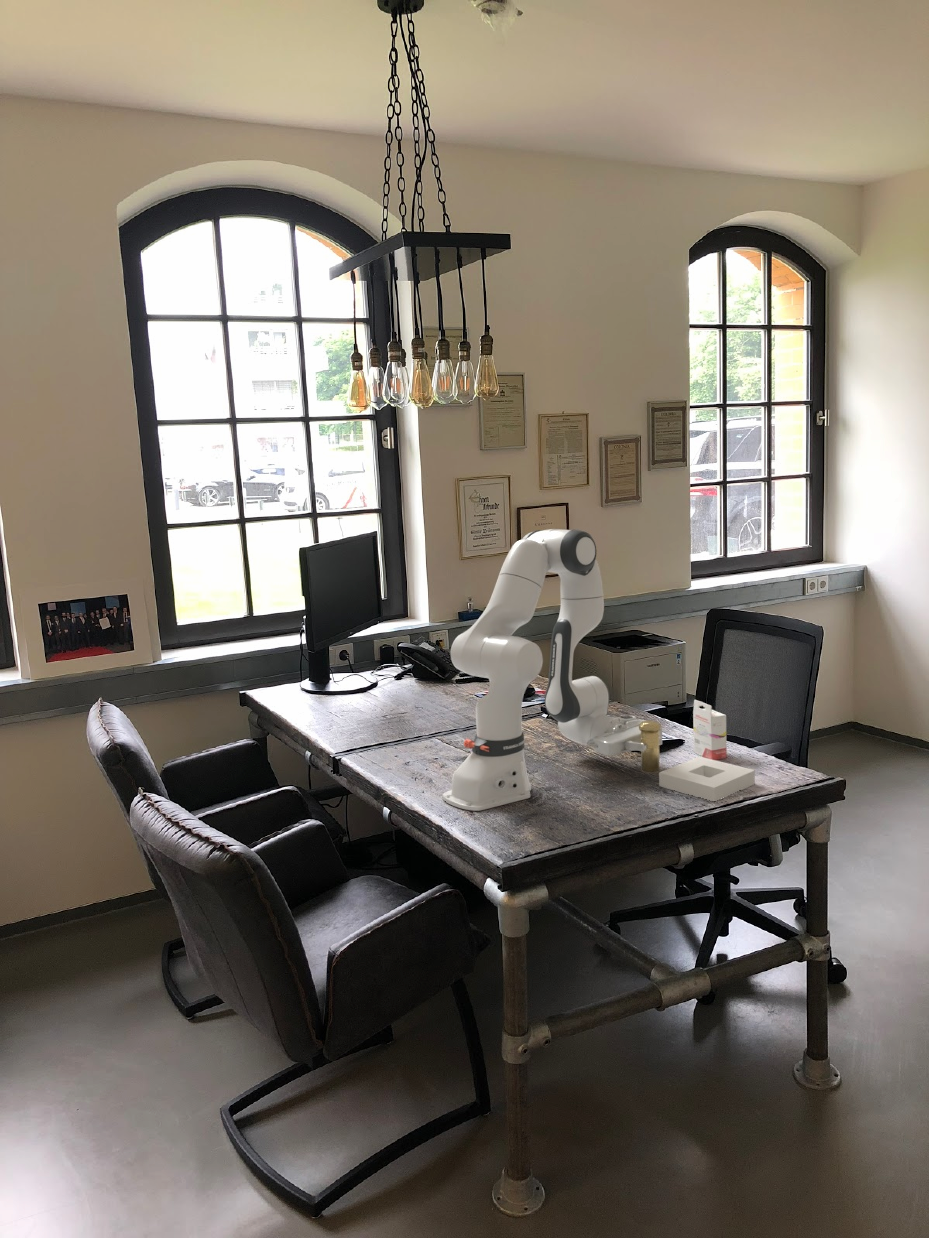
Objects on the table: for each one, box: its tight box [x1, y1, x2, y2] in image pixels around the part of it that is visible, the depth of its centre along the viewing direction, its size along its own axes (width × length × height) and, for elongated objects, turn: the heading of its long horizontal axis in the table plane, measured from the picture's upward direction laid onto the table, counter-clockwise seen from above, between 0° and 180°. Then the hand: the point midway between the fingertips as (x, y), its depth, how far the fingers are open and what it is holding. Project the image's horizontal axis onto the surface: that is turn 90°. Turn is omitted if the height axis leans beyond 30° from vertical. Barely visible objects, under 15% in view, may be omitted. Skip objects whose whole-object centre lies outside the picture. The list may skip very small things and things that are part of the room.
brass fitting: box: [639, 720, 662, 774], centre depth 242 cm, size 5×5×12 cm
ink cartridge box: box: [692, 699, 728, 761], centre depth 257 cm, size 9×5×15 cm, turn 21°
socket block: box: [658, 756, 756, 802], centre depth 237 cm, size 16×16×4 cm
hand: (652, 744), depth 241 cm, fingers closed on brass fitting, 4 cm apart
